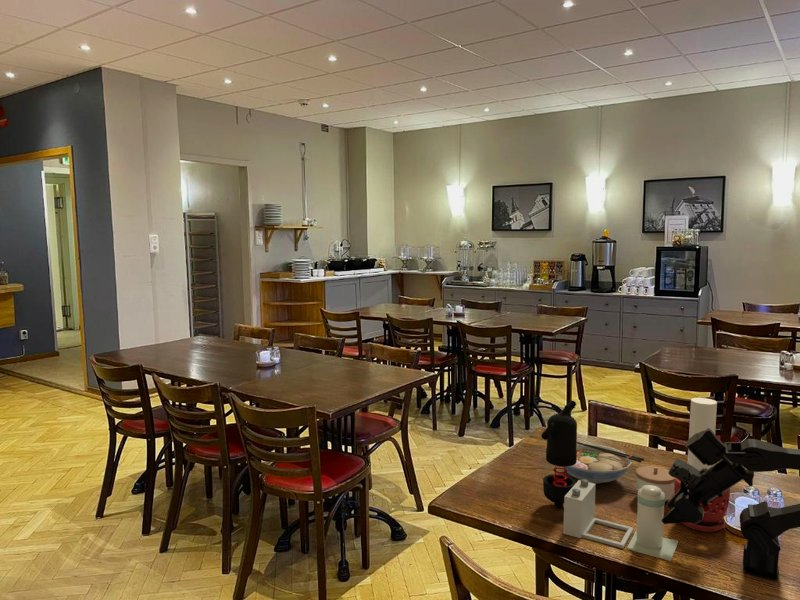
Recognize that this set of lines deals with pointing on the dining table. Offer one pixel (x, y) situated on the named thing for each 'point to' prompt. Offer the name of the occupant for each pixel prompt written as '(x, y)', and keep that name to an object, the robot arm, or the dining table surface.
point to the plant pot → (710, 512)
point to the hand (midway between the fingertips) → (665, 514)
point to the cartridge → (650, 517)
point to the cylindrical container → (701, 424)
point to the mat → (663, 552)
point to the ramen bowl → (600, 463)
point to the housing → (587, 514)
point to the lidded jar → (655, 479)
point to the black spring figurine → (560, 453)
